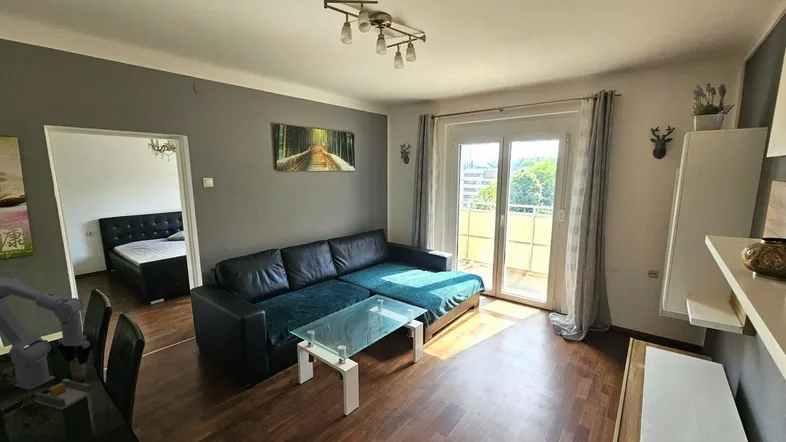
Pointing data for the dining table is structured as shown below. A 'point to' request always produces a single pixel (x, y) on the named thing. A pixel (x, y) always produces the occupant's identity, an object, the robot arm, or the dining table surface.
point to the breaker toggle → (57, 389)
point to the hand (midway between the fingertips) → (76, 361)
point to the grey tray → (65, 395)
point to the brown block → (77, 370)
